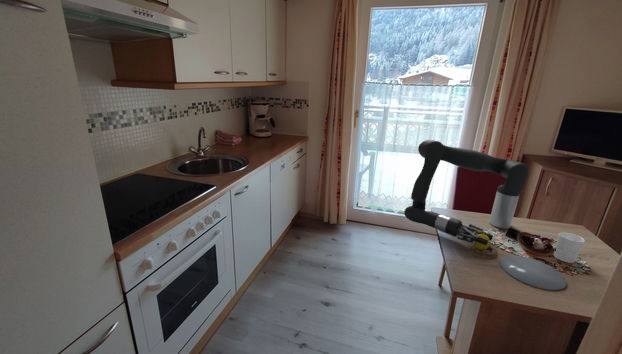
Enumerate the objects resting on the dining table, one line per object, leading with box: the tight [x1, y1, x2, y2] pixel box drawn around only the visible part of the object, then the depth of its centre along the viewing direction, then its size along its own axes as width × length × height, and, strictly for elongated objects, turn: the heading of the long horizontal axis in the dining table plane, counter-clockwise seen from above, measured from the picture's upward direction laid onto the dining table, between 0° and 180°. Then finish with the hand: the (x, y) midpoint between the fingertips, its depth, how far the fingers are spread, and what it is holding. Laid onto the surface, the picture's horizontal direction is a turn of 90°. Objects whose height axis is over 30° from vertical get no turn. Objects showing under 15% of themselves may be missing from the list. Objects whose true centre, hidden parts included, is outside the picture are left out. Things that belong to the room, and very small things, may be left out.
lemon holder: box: [468, 243, 498, 260], centre depth 118 cm, size 11×8×2 cm
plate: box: [499, 254, 567, 291], centre depth 106 cm, size 20×20×1 cm
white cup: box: [553, 231, 586, 264], centre depth 115 cm, size 8×8×10 cm
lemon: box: [473, 234, 491, 252], centre depth 118 cm, size 6×6×8 cm
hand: (489, 240), depth 115 cm, fingers closed on lemon, 5 cm apart
